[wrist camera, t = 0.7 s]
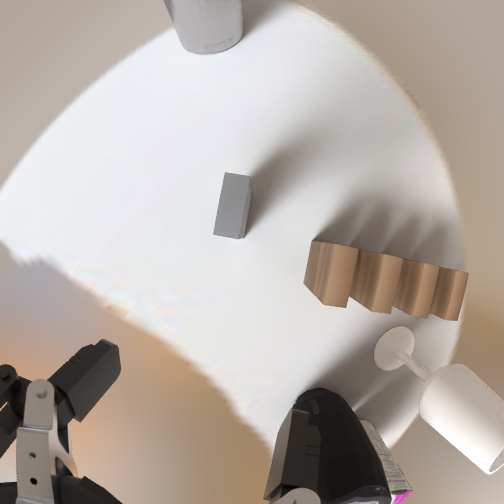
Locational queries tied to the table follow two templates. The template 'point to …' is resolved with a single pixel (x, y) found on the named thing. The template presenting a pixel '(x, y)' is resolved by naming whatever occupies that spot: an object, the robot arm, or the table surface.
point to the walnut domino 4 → (448, 293)
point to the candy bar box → (388, 466)
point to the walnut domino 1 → (330, 272)
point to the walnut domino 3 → (416, 288)
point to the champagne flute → (451, 401)
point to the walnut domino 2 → (375, 280)
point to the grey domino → (233, 206)
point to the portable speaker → (344, 452)
